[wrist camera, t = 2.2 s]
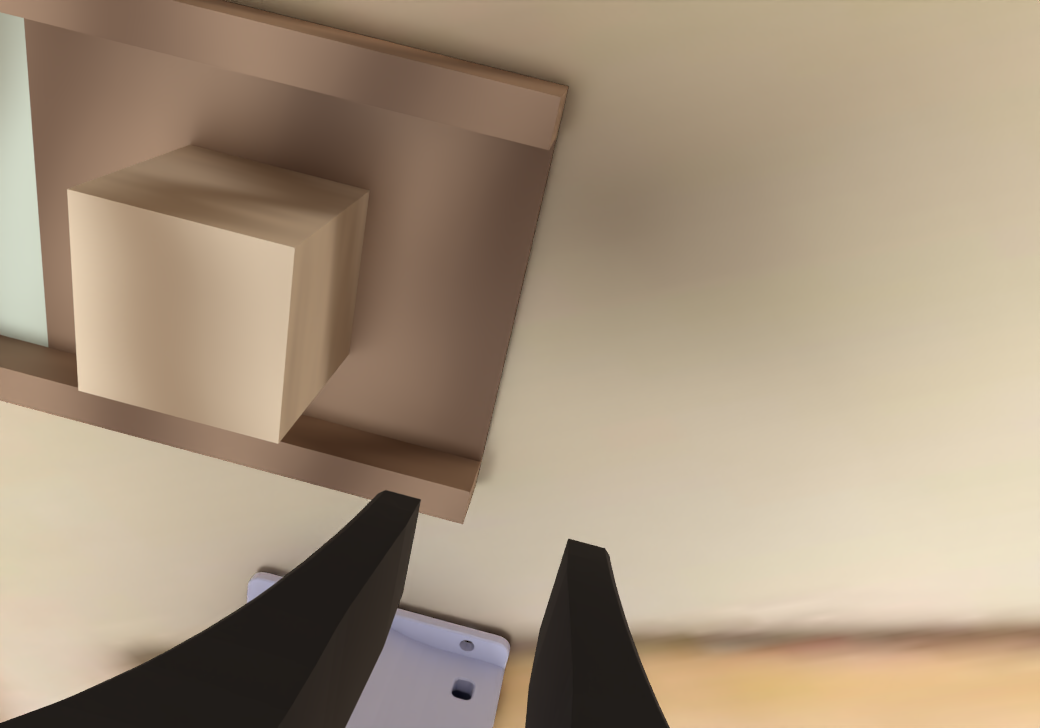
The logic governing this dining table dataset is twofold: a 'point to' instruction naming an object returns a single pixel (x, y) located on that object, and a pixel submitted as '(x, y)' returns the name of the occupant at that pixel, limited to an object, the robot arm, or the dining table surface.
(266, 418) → the maple block
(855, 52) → the dining table surface
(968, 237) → the dining table surface
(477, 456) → the walled channel
